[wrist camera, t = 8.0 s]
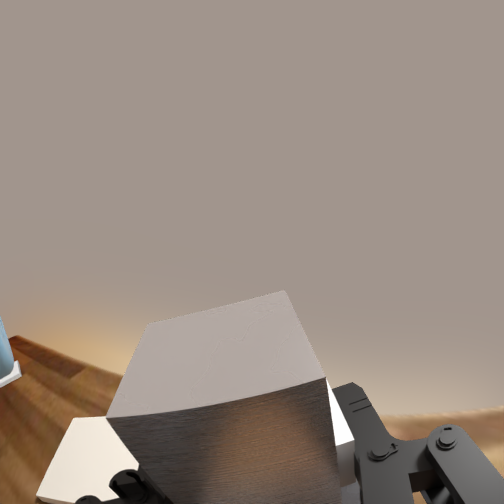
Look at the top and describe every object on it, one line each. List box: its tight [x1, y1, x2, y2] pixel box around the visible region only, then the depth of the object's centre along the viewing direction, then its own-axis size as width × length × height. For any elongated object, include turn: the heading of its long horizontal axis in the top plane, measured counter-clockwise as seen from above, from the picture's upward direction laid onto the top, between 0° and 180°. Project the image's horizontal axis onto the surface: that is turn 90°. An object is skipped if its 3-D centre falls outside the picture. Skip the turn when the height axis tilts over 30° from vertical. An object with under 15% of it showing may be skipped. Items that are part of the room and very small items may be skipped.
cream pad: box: [36, 416, 139, 504], centre depth 25 cm, size 14×14×1 cm
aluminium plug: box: [106, 290, 342, 504], centre depth 9 cm, size 4×4×15 cm
